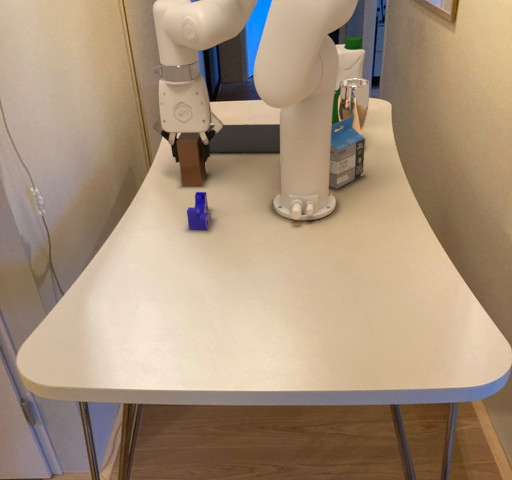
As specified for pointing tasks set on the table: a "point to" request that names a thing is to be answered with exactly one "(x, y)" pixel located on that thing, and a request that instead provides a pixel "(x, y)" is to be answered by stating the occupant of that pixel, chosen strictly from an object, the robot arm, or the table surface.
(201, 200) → the cable holder
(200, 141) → the walnut block
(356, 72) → the milk carton
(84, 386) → the table surface
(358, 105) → the silver metal cup
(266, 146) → the mat
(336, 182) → the label tape box
